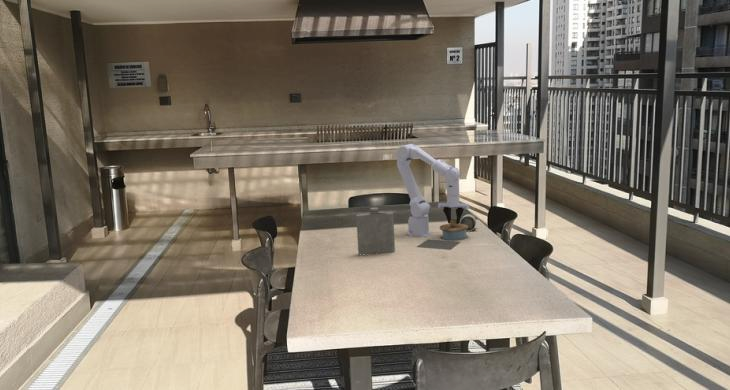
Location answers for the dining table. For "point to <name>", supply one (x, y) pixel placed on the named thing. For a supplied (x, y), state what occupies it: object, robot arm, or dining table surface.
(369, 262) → the dining table surface
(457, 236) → the slate-blue bowl
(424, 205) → the robot arm
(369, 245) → the hip flask
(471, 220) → the ceramic mug
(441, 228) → the walnut cover
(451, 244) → the rubber mat
